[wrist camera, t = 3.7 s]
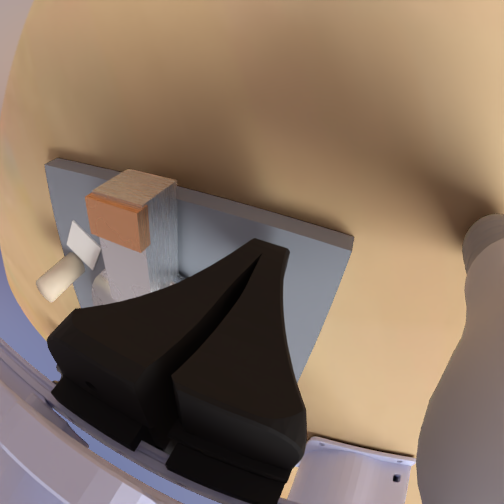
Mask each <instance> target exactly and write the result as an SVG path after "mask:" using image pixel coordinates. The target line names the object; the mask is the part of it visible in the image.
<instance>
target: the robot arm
mask: <svg viewBox="0 0 504 504" xmlns="http://www.w3.org/2000/svg"><path fill="white" fill-rule="evenodd" d="M289 255H290V251H289V249H288V248H285V247H282V246H279V245H276V244H272V243H269V242H266V241H263V240H260V239H256V238H253V239H251V240H250V241H248V242H247V243H245V244H244V245H242V246H241V247H239V248H238V249H236V250H235V251H233V252H232V253H230V254H229V255H227V256H226V257H224V258H222V259H221V260H219V261H217V262H216V263H214V264H212V265H211V266H209V267H207V268H205V269H203V270H202V271H200V272H198V273H196V274H194V275H192V276H190V277H188V278H186V279H184V280H182V281H180V282H178V283H175V284H173V285H170V286H168V287H165V288H163V289H160V290H157V291H154V292H151V293H148V294H145V295H142V296H139V297H135V298H131V299H128V300H124V301H119V302H115V303H110V304H105V305H99V306H93V307H86V308H79V309H75V310H74V311H72V312H71V313H70V314H69V315H68V316H67V317H66V318H65V319H64V321H63V322H62V323H61V324H60V325H59V326H58V327H57V328H56V329H55V330H54V331H53V332H52V333H51V334H50V335H49V337H48V338H47V344H48V348H49V350H50V352H51V354H52V356H53V358H54V360H55V361H56V363H57V365H58V366H59V368H60V370H61V371H62V373H63V374H64V376H63V377H62V379H61V380H60V381H59V382H58V383H57V385H56V384H54V383H53V382H52V381H50V380H49V379H48V378H47V377H45V376H44V375H43V374H41V373H40V372H39V371H38V370H37V369H35V368H34V367H33V366H32V365H31V364H29V363H28V362H27V361H26V360H25V359H23V358H22V357H21V356H20V355H19V354H17V352H15V351H14V350H13V349H12V348H11V347H10V346H9V345H8V344H7V343H6V342H4V341H3V340H2V339H1V338H0V504H183V503H181V502H179V501H177V500H175V499H173V498H170V497H169V496H167V495H165V494H163V493H161V492H159V491H157V490H155V489H154V488H152V487H150V486H148V485H146V484H145V483H143V482H141V481H139V480H138V479H136V478H134V477H132V476H131V475H129V474H127V473H125V472H124V471H122V470H120V469H119V468H117V467H116V466H114V465H113V464H111V463H109V462H108V461H106V460H104V459H103V458H102V457H100V456H98V455H97V454H95V453H94V452H92V451H91V450H89V449H88V448H89V446H88V444H87V443H86V442H85V441H84V440H83V439H82V438H80V437H79V436H78V435H77V434H76V433H75V432H74V431H73V430H72V429H71V427H70V426H69V425H68V423H67V422H66V421H65V420H64V419H62V418H61V417H60V416H59V415H58V414H57V413H56V412H54V411H53V409H52V408H54V409H55V410H56V411H57V412H59V413H60V414H61V415H63V416H64V417H65V418H67V419H68V420H69V421H71V422H72V423H73V424H75V425H76V426H78V427H79V428H81V429H82V430H83V431H85V432H86V433H88V434H89V435H91V436H92V437H94V438H95V439H97V440H98V441H100V442H101V443H103V444H104V445H106V446H108V447H109V448H111V449H112V450H114V451H115V452H117V453H119V454H120V455H122V456H124V457H126V458H127V459H129V460H131V461H133V462H134V463H136V464H138V465H140V466H141V467H143V468H145V469H147V470H149V471H151V472H153V473H155V474H156V475H159V476H160V477H162V478H165V479H166V480H169V481H171V482H173V483H175V484H177V485H179V486H181V487H184V488H185V489H188V490H190V491H192V492H195V493H197V494H199V495H202V496H204V497H207V498H209V499H211V500H214V501H217V502H219V503H222V504H405V499H406V493H407V488H408V482H409V476H410V469H411V466H412V465H414V464H415V463H416V459H415V458H412V457H406V456H400V455H395V454H389V453H384V452H379V451H374V450H370V449H365V448H361V447H356V446H352V445H348V444H344V443H340V442H336V441H332V440H329V439H325V438H321V437H317V436H313V437H311V438H310V439H309V441H308V442H307V443H306V440H307V421H306V408H305V405H304V403H303V400H302V397H301V394H300V391H299V388H298V385H297V381H296V378H295V374H294V370H293V366H292V362H291V357H290V353H289V348H288V343H287V336H286V329H285V321H284V307H283V283H284V276H285V272H286V268H287V263H288V259H289ZM295 466H296V467H299V468H298V470H297V473H296V476H295V479H294V482H293V484H292V487H291V490H290V493H289V495H288V498H287V499H284V498H280V495H281V493H282V490H283V488H284V485H285V484H286V483H287V481H288V479H289V476H290V473H291V470H292V469H293V468H294V467H295Z"/></svg>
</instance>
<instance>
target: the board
mask: <svg viewBox="0 0 504 504" xmlns="http://www.w3.org/2000/svg"><path fill="white" fill-rule="evenodd" d="M45 170H46V176H47V182H48V188H49V193H50V198H51V203H52V207H53V212H54V216H55V221H56V225H57V229H58V233H59V237H60V241H61V245H62V249H63V252H64V256H65V257H63V258H62V259H61V260H60V261H59V262H57V263H56V264H55V265H54V266H53V267H52V268H50V269H49V270H48V271H47V272H46V273H45V274H43V275H42V276H41V277H40V278H39V279H38V280H37V281H36V285H37V288H38V290H39V291H40V293H41V294H42V295H43V297H44V298H45V299H47V300H48V301H49V302H53V301H54V300H55V299H56V298H57V297H58V296H59V295H61V294H62V293H63V292H64V291H65V290H66V289H67V288H68V287H69V286H70V285H71V284H72V283H73V286H74V289H75V292H76V295H77V298H78V301H79V304H80V306H81V308H86V307H93V306H94V305H93V301H92V294H91V293H92V285H93V282H94V280H95V278H96V277H97V276H98V275H99V274H100V273H101V272H102V271H103V270H104V269H105V264H104V259H103V255H102V250H101V244H100V239H99V237H98V236H96V235H93V234H91V231H90V225H89V220H88V214H87V208H86V202H85V196H87V195H88V194H90V193H92V190H94V189H95V188H97V187H98V186H100V185H102V184H103V183H105V182H107V181H108V180H110V179H112V178H113V177H115V176H117V175H118V174H120V173H122V172H118V171H114V170H110V169H105V168H101V167H97V166H92V165H88V164H83V163H79V162H74V161H70V160H65V159H60V158H56V159H54V160H52V161H50V162H48V163H47V164H45ZM177 237H178V270H179V275H181V276H182V277H184V278H185V279H186V278H188V277H190V276H192V275H194V274H196V273H198V272H200V271H202V270H203V269H205V268H207V267H209V266H211V265H212V264H214V263H216V262H217V261H219V260H221V259H222V258H224V257H226V256H227V255H229V254H230V253H232V252H233V251H235V250H236V249H238V248H239V247H241V246H242V245H244V244H245V243H247V242H248V241H250V240H251V239H253V238H256V239H260V240H263V241H266V242H269V243H272V244H276V245H279V246H282V247H285V248H288V249H289V251H290V255H289V259H288V263H287V268H286V272H285V276H284V283H283V307H284V321H285V329H286V336H287V343H288V348H289V353H290V357H291V362H292V366H293V370H294V374H295V378H296V381H297V382H298V380H299V378H300V376H301V374H302V371H303V369H304V367H305V365H306V363H307V360H308V358H309V356H310V354H311V352H312V349H313V347H314V345H315V342H316V340H317V338H318V336H319V333H320V331H321V328H322V326H323V324H324V321H325V319H326V317H327V314H328V312H329V309H330V307H331V304H332V302H333V299H334V297H335V294H336V292H337V289H338V287H339V284H340V281H341V279H342V276H343V274H344V271H345V268H346V266H347V263H348V260H349V258H350V255H351V252H352V247H353V241H354V237H352V236H349V235H346V234H343V233H340V232H337V231H333V230H330V229H327V228H324V227H320V226H317V225H314V224H311V223H307V222H304V221H301V220H297V219H294V218H291V217H287V216H284V215H281V214H277V213H274V212H270V211H267V210H263V209H260V208H256V207H253V206H249V205H246V204H242V203H239V202H235V201H231V200H228V199H224V198H220V197H217V196H213V195H209V194H206V193H202V192H198V191H194V190H191V189H187V188H183V187H179V186H177Z"/></svg>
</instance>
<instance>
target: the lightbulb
mask: <svg viewBox="0 0 504 504" xmlns="http://www.w3.org/2000/svg"><path fill="white" fill-rule="evenodd" d="M462 252H463V260H464V264H465V270H466V274H467V277H466V281H465V290H464V291H465V299H466V306H467V310H466V324H465V328H464V331H463V335H462V337H461V339H460V341H459V343H458V345H457V347H456V349H455V350H454V352H453V354H452V356H451V358H450V360H449V363H448V365H447V367H446V369H445V371H444V373H443V375H442V377H441V379H440V381H439V383H438V385H437V387H436V389H435V391H434V393H433V395H432V396H431V398H430V400H429V404H428V407H427V411H426V414H425V417H424V421H423V424H422V427H421V431H420V435H419V440H418V449H417V458H416V467H417V481H418V487H419V491H420V495H421V500H422V504H504V215H503V214H490V215H487V216H484V217H482V218H480V219H479V220H477V221H476V222H475V223H474V224H473V225H472V226H471V227H470V228H469V230H468V231H467V233H466V235H465V238H464V241H463V245H462Z"/></svg>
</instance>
